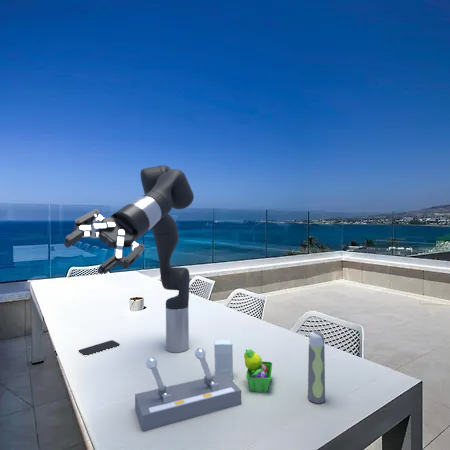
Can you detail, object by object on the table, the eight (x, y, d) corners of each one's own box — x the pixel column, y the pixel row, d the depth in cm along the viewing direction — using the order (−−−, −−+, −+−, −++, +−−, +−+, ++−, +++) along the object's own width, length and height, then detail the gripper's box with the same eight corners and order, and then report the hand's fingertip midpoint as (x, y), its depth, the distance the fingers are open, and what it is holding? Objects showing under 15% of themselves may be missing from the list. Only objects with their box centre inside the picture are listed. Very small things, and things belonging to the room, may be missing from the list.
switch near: (158, 396, 91) (143, 358, 89) (168, 390, 92) (153, 352, 90) (162, 403, 87) (145, 364, 85) (172, 397, 88) (156, 358, 86)
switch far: (205, 385, 97) (191, 349, 95) (214, 379, 98) (200, 344, 96) (210, 391, 93) (196, 354, 91) (219, 386, 94) (205, 349, 92)
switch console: (135, 408, 92) (134, 387, 91) (225, 386, 103) (225, 367, 103) (142, 431, 82) (142, 407, 82) (241, 403, 94) (241, 383, 93)
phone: (77, 350, 131) (112, 339, 142) (77, 352, 131) (112, 341, 142) (84, 355, 126) (120, 344, 137) (85, 357, 126) (120, 346, 137)
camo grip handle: (306, 394, 98) (306, 329, 98) (323, 395, 98) (323, 329, 97) (309, 403, 93) (309, 334, 93) (326, 404, 93) (326, 335, 92)
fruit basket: (271, 395, 98) (271, 358, 98) (242, 392, 100) (241, 356, 99) (272, 376, 109) (272, 343, 109) (246, 374, 111) (246, 342, 111)
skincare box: (232, 373, 112) (232, 339, 111) (232, 380, 107) (232, 344, 107) (214, 374, 111) (214, 339, 111) (214, 380, 107) (214, 344, 107)
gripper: (116, 188, 73) (55, 223, 61) (166, 225, 72) (114, 268, 59) (110, 210, 78) (53, 247, 66) (157, 246, 76) (107, 290, 64)
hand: (82, 257), depth 63 cm, fingers open, 8 cm apart
